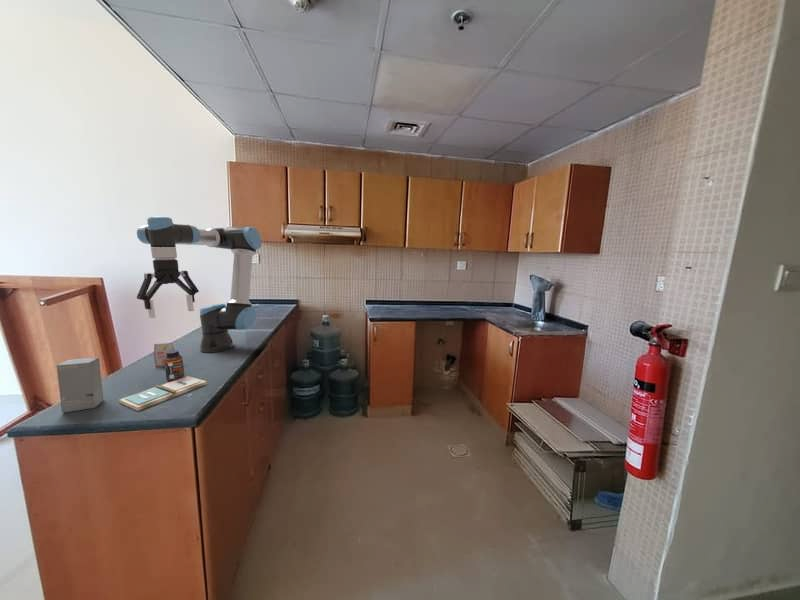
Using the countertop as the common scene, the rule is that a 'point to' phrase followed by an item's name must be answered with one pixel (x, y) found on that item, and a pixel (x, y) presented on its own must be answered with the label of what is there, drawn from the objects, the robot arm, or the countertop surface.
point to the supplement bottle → (174, 365)
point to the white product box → (161, 352)
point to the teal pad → (147, 396)
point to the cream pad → (181, 383)
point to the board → (163, 398)
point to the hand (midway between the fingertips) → (172, 314)
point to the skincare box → (80, 384)
